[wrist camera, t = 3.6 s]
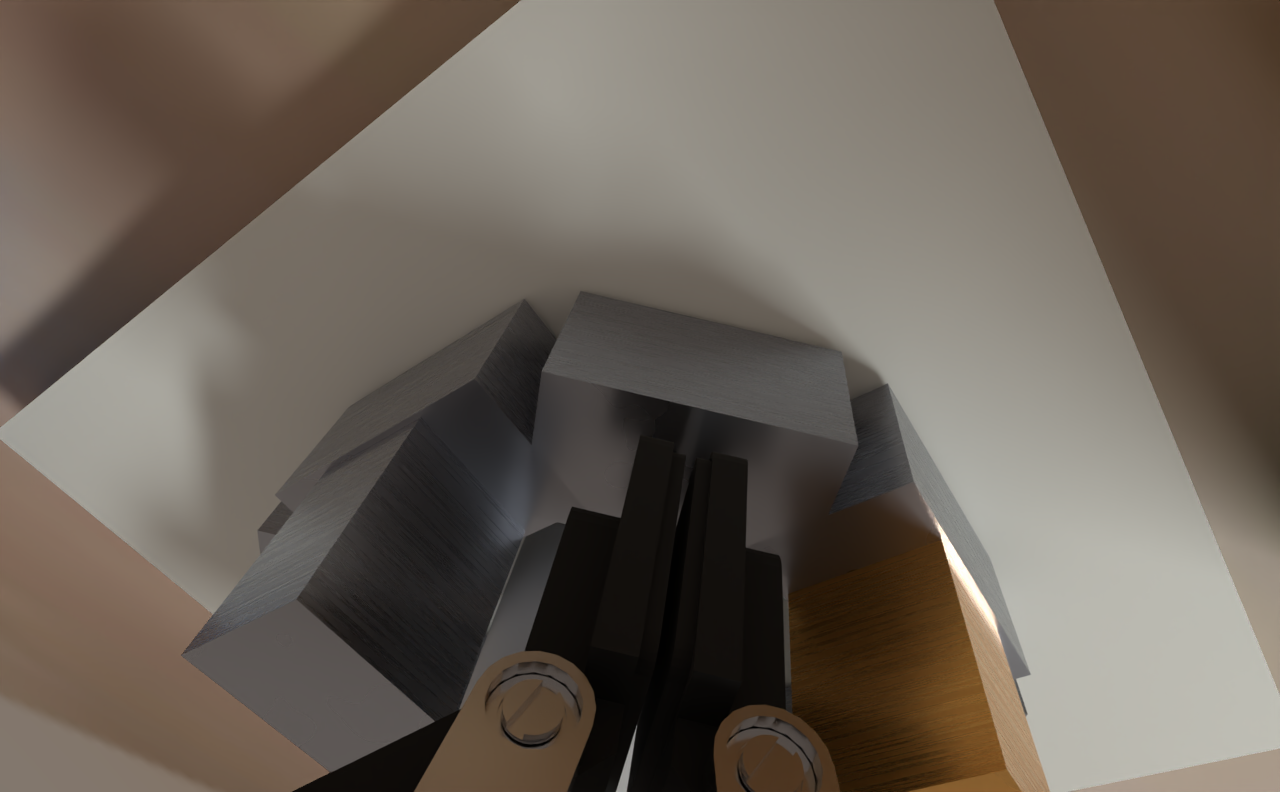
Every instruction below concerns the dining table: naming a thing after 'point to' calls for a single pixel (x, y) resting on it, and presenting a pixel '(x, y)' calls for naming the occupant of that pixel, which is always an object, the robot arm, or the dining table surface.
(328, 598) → the ring nut
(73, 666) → the dining table surface
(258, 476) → the cap base
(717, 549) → the robot arm
